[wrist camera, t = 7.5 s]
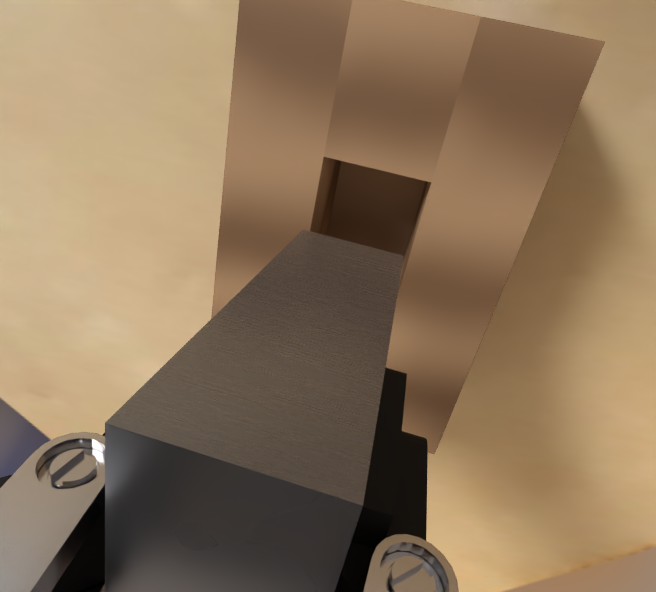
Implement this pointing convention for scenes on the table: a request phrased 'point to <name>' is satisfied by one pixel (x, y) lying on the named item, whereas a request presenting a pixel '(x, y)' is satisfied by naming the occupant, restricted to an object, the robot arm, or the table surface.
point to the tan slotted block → (397, 160)
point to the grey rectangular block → (256, 432)
